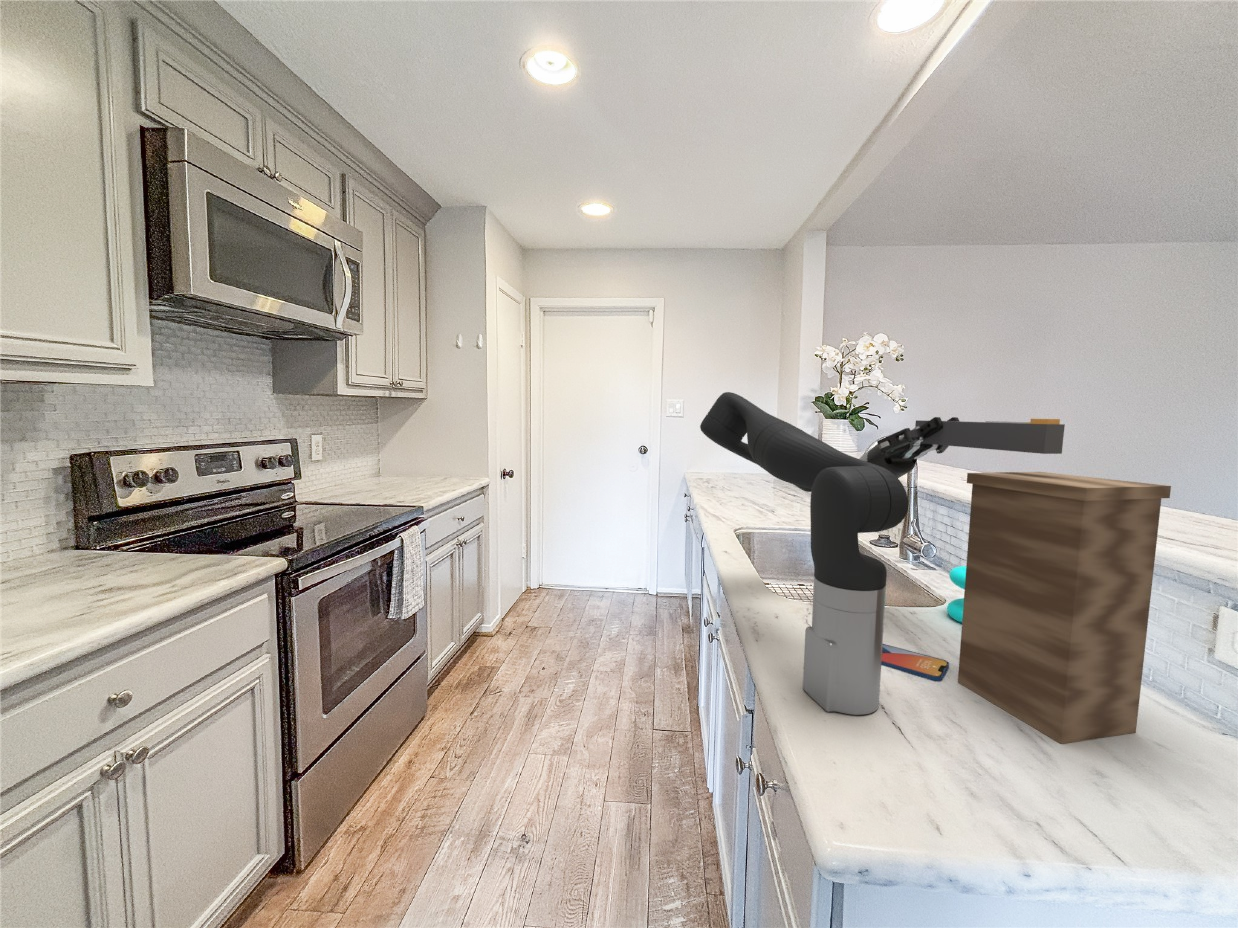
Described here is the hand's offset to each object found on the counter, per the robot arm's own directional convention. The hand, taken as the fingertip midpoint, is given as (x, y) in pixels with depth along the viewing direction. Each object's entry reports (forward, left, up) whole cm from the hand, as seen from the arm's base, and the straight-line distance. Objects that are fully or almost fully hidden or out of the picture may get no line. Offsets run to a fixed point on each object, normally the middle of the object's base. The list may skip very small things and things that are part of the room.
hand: (948, 422), depth 86 cm
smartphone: (-10, -3, -40) cm, 41 cm away
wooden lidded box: (0, -19, -39) cm, 44 cm away
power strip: (0, -6, -4) cm, 7 cm away
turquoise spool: (+18, +8, -40) cm, 44 cm away
